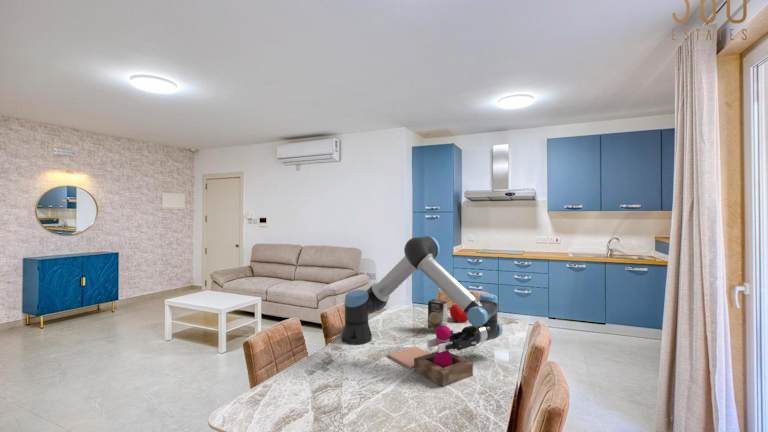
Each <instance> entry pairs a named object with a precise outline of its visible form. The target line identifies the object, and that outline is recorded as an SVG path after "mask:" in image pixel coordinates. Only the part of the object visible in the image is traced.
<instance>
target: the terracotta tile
mask: <svg viewBox="0 0 768 432" xmlns="http://www.w3.org/2000/svg"><path fill="white" fill-rule="evenodd" d="M430 353H431V352H428V351H426V350H424V349H421V348H419V347H418V346H415V345H414V346H411V347H408V348H403V349H400V350H396V351H393V352H389V353H387V354H386V357H388V358H390V359H391V360H394V361H395V362H397V363H399V364H401V365H403V366H405V368H407V369H410V370H412V369H413V370H414V358H417V357H420V356H424V355H427V354H430Z"/></svg>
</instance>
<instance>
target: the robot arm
mask: <svg viewBox="0 0 768 432" xmlns="http://www.w3.org/2000/svg"><path fill="white" fill-rule="evenodd" d="M440 248H441V247H440V244H439V242H438V240H437V239H436V238H435V237H433V236H431V235H430V236H429V235H424V236H418V237H417V236H416V237H412V238H410V239H409V240H408V241H407V242H406V243H405V245H404V249H403V250H404V256H403V258H402V259H400V261H398V263H397V264H395V266H393V268H392V269H391V270H390V271H388V272H387V274H386V275H385V276H384V277H382V278H381V280H379V282H374V283H372V285H371V286H370V287H368V288H367V289H366V290H365V289H356V290H351V291H349V292H346V294H345V296H344V326H343V327H342V328H343V329H342V331H341V335H340V336H341V337H340V338H341V340H340V341H341V342H343V343H345V344H348V345H363V344H366V343H367V344H368V343H369V342H371V341H372V339H373V338H372V337H373V334H372V330H371V328H370V325H369V315H370V314H373V313H375V312H378V311H381V310H383V309H384V308H385V307H386V306H387V304H388V301H389V300H390V298H391V297H390V296H391V295H392V293H393V292H394V291H396V289H398V288H399V287H400V286H401V285H402V283H404V282H405V281H406V280H407V279H408V278H409V277H410V276H411V275H412V274H414V272H415V271H416V270H417V271H421V272H422V273H423V274H424V275H425V276H426V277H427V278H428V279H429V280H430V281H431V282H432V283H433V284H434V285H436V286H437V288H439V289H440V291H442V292H443V293H444V295H446V296H447V297H448V298H449V299H450V300H451V301H452V302H453V303H454V304H456V305H457V306H458V307H459V308H460V309H462V310H463V311H464V312H465V313H466V314H467V319H468V320H467V321H468V323H469V324H470V325H469V326H465V327H463V328H462V329H461V331H457V332H454V330H451V336H450V337H449V339H450V340H449V341H450V342H446V343H443V344H439V345H438V342H437V336H435V338H432V339H427V341H426V342H427V346H426V347H427V349H430V348H434V347H437V350H438V352H439V353H440V352H443V351H446V350H449V351H450V350H456V351H462V350H465V349H468V348H471V347H476V346H477V345H478V344H479V345H480V344H481V343H484V342H487V341H491V340H495V339H497V338H499V337H500V336H501V335H502V334H503V330H504V329H503V327H502V324H501V322H499V321H498V309H499V308H498V306H499V303H498V296H497V295H496V294H492V293H481V294H480V295H479V299H477V297H475V296H474V295H473V294H472V293H471V292H470V291H469V290H468V289H466V288H465V286H463V285H462V284H461V283H460V282H459V281H458V280H457V279H456V278H455V277H454V276H452V275H451V273H449V272H448V271H447V270H446V269H445V268H444V267H443V266H442V265H440V263H438V261H437V260H435V259H436V258H437V257H438V256H439V255H440V250H441V249H440Z"/></svg>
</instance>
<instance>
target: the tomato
mask: <svg viewBox="0 0 768 432" xmlns="http://www.w3.org/2000/svg"><path fill="white" fill-rule="evenodd" d="M449 315H450V317H451V319H452V320H453V321H455V322H458V323H459V322H460V323H462V322H467V321H468V319H467V314H466V313H465V312H464V311H463V310H462V309H460V308H459V307H458V306H457V305H456V304H455V303H454V304H452V305H451V307H450V309H449Z"/></svg>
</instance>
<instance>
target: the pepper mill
mask: <svg viewBox="0 0 768 432" xmlns="http://www.w3.org/2000/svg"><path fill="white" fill-rule="evenodd" d="M451 331H452V329H451V328H450V327H449V326H448V325H447V326H445V322H442V323H441V326H438V327H437V328H436V331H435V332H434V334H435V335H436V336H437V342H438V345H439V344H443V343H446V342H450V341H449V340H450V339H449V337H450V336H451ZM436 336H435V337H436ZM436 352H437V353H436V355H435V357H434V364H436V365H438V366H440V367H442V368H445V367H448V366H451V365H452V358H451V355H450V353H451V352H450V350H446V351H443V352H440V353H439V352H438V349H437V351H436ZM449 352H450V353H449Z"/></svg>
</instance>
